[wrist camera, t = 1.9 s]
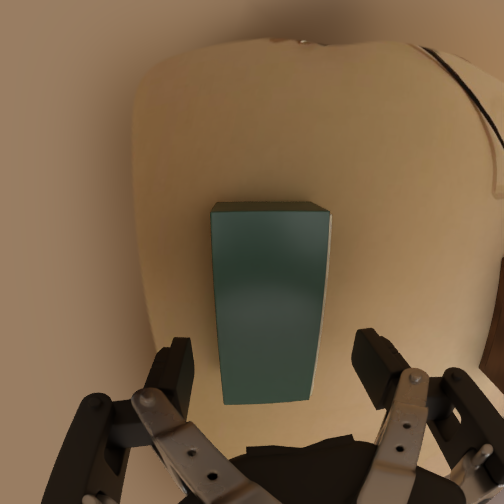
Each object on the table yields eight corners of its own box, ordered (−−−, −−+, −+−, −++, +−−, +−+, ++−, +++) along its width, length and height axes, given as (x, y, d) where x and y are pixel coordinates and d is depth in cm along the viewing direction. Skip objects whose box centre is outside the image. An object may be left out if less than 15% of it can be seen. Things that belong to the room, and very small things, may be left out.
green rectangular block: (215, 202, 16) (210, 211, 12) (314, 201, 16) (334, 211, 13) (225, 371, 19) (223, 405, 16) (301, 367, 20) (312, 399, 16)
